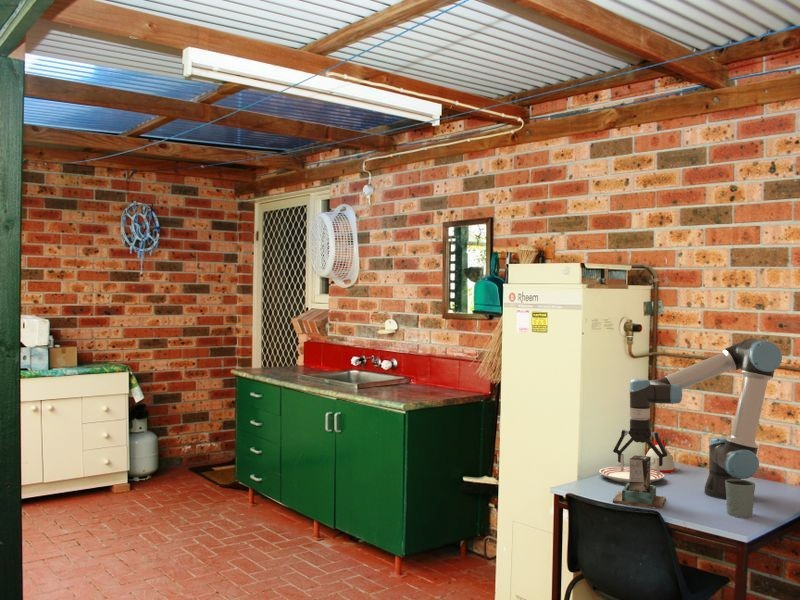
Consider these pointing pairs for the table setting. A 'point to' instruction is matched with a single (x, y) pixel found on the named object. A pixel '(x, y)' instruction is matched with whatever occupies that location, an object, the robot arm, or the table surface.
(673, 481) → the table surface
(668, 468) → the kitchen timer
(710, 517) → the table surface
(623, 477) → the dinner plate
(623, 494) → the holder tray
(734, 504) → the grey green cup
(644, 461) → the coffee box
